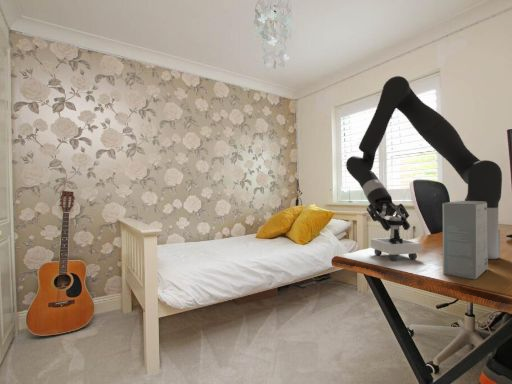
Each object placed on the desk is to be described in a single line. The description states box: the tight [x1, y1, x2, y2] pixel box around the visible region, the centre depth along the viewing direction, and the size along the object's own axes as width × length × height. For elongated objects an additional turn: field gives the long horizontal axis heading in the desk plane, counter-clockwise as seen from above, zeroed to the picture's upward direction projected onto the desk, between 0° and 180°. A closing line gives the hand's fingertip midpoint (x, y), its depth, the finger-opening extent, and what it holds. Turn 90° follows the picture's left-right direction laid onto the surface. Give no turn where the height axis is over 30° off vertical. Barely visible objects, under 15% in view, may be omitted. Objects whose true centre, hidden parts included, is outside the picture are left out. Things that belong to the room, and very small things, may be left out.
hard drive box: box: [442, 200, 489, 280], centre depth 79 cm, size 16×8×20 cm, turn 131°
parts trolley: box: [370, 237, 422, 262], centre depth 96 cm, size 11×11×6 cm
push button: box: [386, 216, 404, 244], centre depth 97 cm, size 7×5×10 cm
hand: (398, 228), depth 95 cm, fingers open, 7 cm apart
